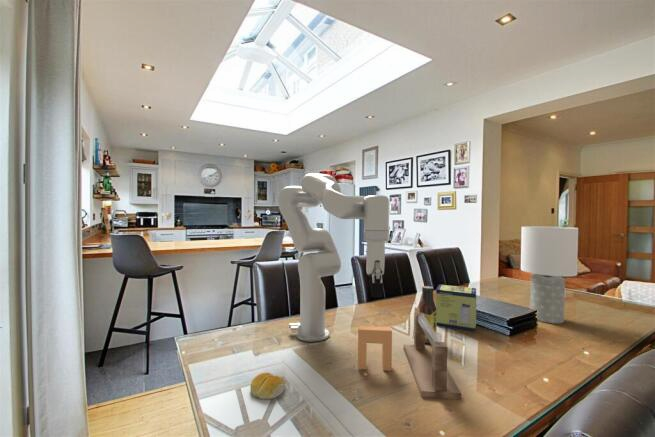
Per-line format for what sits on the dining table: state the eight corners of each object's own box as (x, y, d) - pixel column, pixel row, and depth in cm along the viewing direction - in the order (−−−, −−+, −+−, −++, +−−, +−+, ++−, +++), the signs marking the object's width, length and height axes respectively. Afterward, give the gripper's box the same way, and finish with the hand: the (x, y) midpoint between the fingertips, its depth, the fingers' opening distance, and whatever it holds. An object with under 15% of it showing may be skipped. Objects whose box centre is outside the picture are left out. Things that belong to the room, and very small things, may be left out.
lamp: (539, 309, 152) (541, 226, 151) (587, 324, 133) (589, 228, 132) (509, 314, 145) (511, 226, 144) (554, 330, 125) (557, 228, 125)
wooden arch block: (357, 368, 93) (358, 329, 92) (357, 364, 96) (358, 325, 95) (391, 370, 92) (392, 330, 92) (390, 365, 95) (390, 327, 95)
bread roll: (265, 378, 87) (265, 364, 87) (289, 389, 82) (289, 374, 82) (242, 393, 80) (242, 377, 80) (268, 405, 75) (268, 388, 75)
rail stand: (421, 396, 79) (421, 346, 79) (403, 348, 107) (404, 311, 107) (461, 399, 78) (462, 348, 78) (432, 350, 106) (433, 312, 106)
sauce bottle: (437, 345, 110) (438, 290, 110) (419, 343, 111) (420, 288, 111) (434, 337, 117) (435, 285, 116) (417, 336, 118) (418, 284, 117)
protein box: (437, 318, 139) (438, 284, 138) (476, 324, 132) (476, 288, 132) (435, 325, 129) (435, 289, 129) (476, 332, 122) (476, 293, 122)
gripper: (362, 234, 102) (362, 285, 102) (364, 238, 85) (364, 300, 85) (385, 234, 101) (385, 286, 102) (392, 238, 84) (391, 300, 84)
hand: (375, 292), depth 93 cm, fingers open, 9 cm apart
